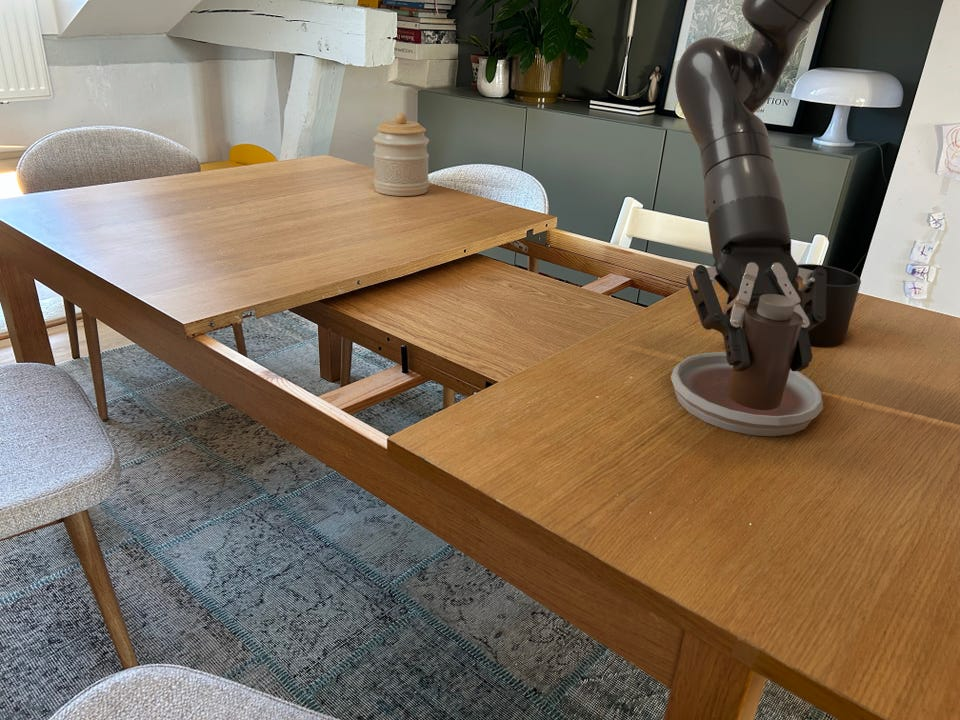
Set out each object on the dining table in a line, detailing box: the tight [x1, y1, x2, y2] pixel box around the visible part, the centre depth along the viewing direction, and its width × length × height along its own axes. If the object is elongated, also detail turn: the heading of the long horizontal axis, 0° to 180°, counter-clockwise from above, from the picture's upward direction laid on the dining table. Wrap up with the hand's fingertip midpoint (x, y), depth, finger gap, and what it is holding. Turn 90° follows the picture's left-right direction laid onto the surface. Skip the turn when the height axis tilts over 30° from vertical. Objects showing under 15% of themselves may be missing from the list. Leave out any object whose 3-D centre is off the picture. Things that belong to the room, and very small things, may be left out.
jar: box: [372, 112, 430, 197], centre depth 170 cm, size 13×13×18 cm
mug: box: [792, 263, 862, 348], centre depth 104 cm, size 9×12×9 cm
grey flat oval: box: [670, 351, 824, 437], centre depth 90 cm, size 17×3×28 cm
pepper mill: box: [727, 294, 803, 410], centre depth 71 cm, size 5×5×10 cm
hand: (771, 368), depth 70 cm, fingers closed on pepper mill, 5 cm apart
